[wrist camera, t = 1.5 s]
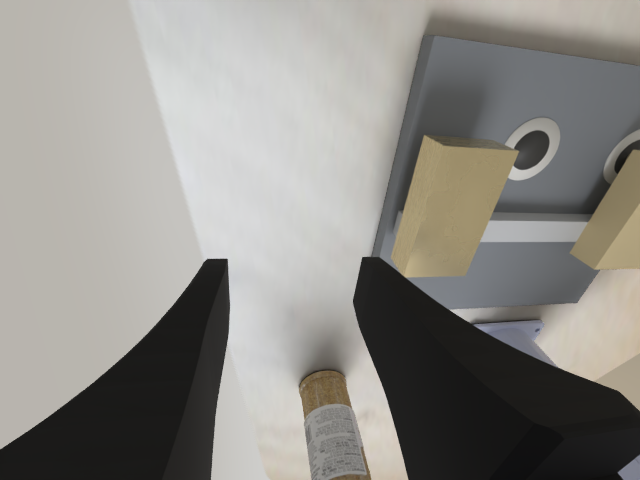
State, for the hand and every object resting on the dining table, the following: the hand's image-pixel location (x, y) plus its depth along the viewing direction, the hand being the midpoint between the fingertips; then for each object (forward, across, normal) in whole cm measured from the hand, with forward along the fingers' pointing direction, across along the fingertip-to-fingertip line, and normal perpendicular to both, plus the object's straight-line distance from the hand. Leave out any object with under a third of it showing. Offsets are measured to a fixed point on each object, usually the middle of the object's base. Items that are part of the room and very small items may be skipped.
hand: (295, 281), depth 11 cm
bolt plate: (+9, -17, +1) cm, 19 cm away
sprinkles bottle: (+10, -5, +20) cm, 23 cm away
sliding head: (+8, -9, 0) cm, 12 cm away
